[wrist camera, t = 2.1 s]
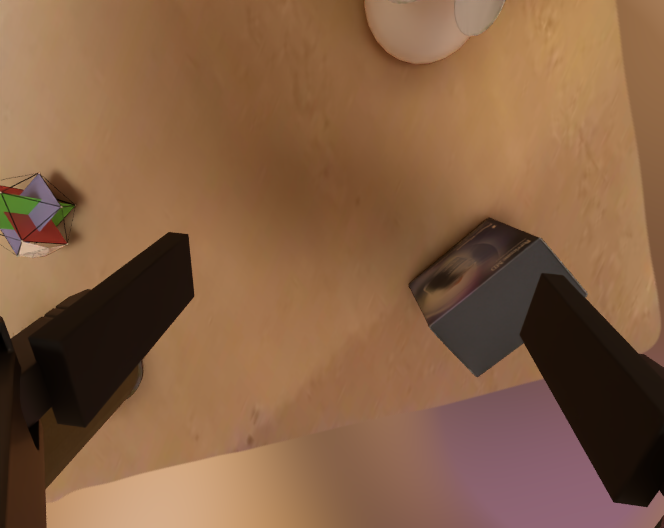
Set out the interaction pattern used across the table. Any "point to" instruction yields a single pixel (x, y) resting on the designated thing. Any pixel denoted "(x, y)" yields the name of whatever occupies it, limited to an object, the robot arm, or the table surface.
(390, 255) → the table surface
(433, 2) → the flower vase
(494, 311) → the small box
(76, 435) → the canister
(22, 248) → the geometric puzzle
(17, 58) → the table surface
